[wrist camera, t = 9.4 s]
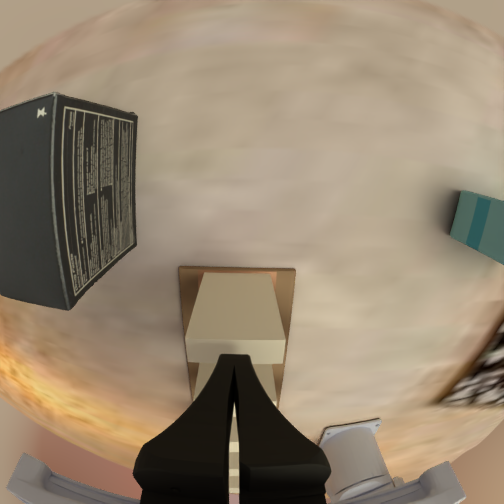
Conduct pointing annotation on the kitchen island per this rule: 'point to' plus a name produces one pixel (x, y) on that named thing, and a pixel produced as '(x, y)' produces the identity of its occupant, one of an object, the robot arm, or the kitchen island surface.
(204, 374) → the domino
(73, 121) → the small box
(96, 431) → the kitchen island surface
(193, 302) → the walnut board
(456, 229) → the data package
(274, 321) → the domino
